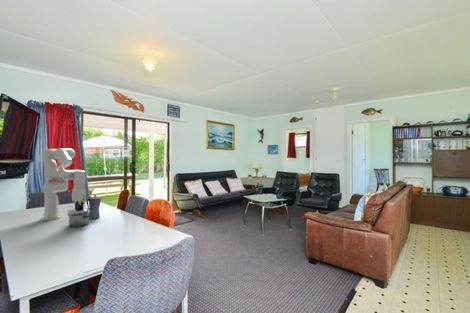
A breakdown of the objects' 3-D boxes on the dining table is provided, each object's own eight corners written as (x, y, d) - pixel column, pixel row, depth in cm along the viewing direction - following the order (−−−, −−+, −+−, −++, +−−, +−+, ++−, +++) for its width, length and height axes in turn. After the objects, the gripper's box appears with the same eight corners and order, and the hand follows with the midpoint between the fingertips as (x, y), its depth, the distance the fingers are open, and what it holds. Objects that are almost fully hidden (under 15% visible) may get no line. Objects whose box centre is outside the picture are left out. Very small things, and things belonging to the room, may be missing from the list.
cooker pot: (61, 226, 176) (61, 214, 176) (77, 221, 189) (77, 210, 189) (81, 228, 170) (81, 216, 170) (96, 224, 182) (96, 212, 182)
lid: (63, 212, 175) (63, 204, 175) (81, 208, 188) (81, 201, 188) (76, 214, 170) (76, 205, 170) (93, 210, 184) (93, 202, 184)
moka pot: (104, 216, 207) (104, 193, 207) (92, 220, 191) (92, 196, 191) (94, 215, 208) (95, 193, 208) (81, 220, 192) (82, 196, 192)
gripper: (66, 186, 178) (66, 209, 178) (82, 187, 173) (82, 211, 173) (76, 185, 185) (76, 207, 185) (91, 186, 180) (91, 209, 180)
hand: (79, 209), depth 179 cm, fingers closed on lid, 3 cm apart
